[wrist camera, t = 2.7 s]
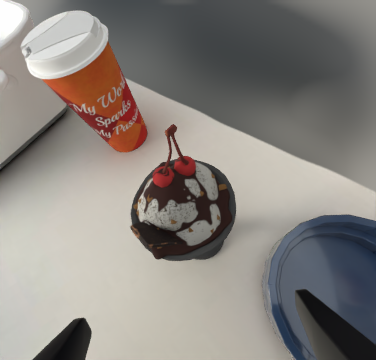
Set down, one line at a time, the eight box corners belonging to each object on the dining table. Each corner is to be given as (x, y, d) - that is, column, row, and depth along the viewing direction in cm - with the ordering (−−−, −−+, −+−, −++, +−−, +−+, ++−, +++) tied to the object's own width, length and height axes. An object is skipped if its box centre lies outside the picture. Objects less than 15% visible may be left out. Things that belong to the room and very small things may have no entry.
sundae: (216, 195, 23) (201, 85, 10) (243, 254, 20) (272, 206, 7) (163, 217, 23) (77, 135, 10) (181, 278, 20) (92, 278, 7)
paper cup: (117, 169, 27) (26, 78, 15) (95, 135, 31) (6, 38, 18) (165, 136, 28) (116, 25, 16) (139, 106, 32) (81, -4, 19)
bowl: (446, 280, 17) (501, 281, 13) (397, 443, 14) (452, 497, 10) (298, 202, 22) (310, 188, 18) (236, 311, 18) (238, 318, 15)
